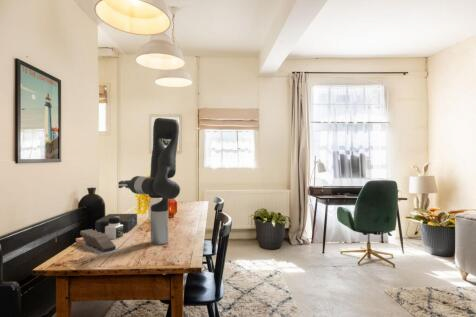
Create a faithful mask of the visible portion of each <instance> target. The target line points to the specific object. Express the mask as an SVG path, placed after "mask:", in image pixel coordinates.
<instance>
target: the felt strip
mask: <svg viewBox="0 0 476 317" xmlns="http://www.w3.org/2000/svg"><path fill="white" fill-rule="evenodd" d="M80 246H81V247H83V248H85V249H88V250H89V251H92V252H94V253H96V254H99V255H101V256H105V255H109V254H113V253H117V252H122V251H123V249H121V248H118V247H116V248H115V250H111V251H107V252H102V251H101V250H98V249H97V248H93V247H92V246H88V244H87V245H84V244H82V245H80Z"/></svg>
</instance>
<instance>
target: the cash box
mask: <svg viewBox="0 0 476 317" xmlns="http://www.w3.org/2000/svg"><path fill="white" fill-rule="evenodd" d="M110 217H120V225H123V234H127V233H129V232H130V231H132V230H133V229H134V228H135V227H136V226H137V225H138V214H137V213H109V214H108V213H107V214H106V215H105V216H103V217H101V218H99V219H97V220H95V222H94V223H95V224H94V226H95V228H94V229H95V230H94V231H97V232H101V233H102V234H105V227H106V226H109V218H110Z"/></svg>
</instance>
